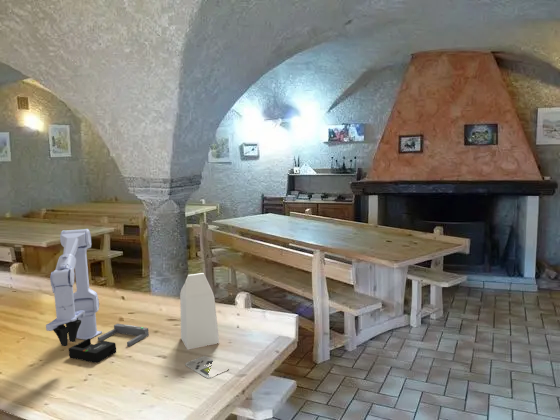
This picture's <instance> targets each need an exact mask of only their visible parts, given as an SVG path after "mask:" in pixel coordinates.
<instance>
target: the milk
mask: <svg viewBox="0 0 560 420" xmlns="http://www.w3.org/2000/svg"><path fill="white" fill-rule="evenodd" d="M179 297H180V307H179V308H180V339H181V341H182V343H183V344H184V346H185V348H186V350H187V351H188V350H193V349H198V348H203V347H207V345H208V346H212V345H216V344H217V343H218V344H220V337H219V328H218V320H217V309H216V302H215V301H216V300H215V299H216V298H215V294H214V292H213V289H212V287H211V285H210V283H209V281H208V279H207V276H206V275H205V273H204V272H199V273H194V274H193V273H192V274H187V277H186V279H185V282H184V283H183V286H182V287H181V289H180V292H179ZM218 344H217V345H218Z"/></svg>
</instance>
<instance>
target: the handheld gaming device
mask: <svg viewBox="0 0 560 420" xmlns="http://www.w3.org/2000/svg"><path fill="white" fill-rule="evenodd" d="M213 360H214V359H213V358H210V357H209V356H207V355H202V356H200V357H197V358H195V359H192V360H189V361H186V362H184V363H185V364H184V365H185V367H186V368H188V369H191V370H192V371H193V372H195V373H197V374H199V375H200V374H201V375H200V376H202V377H204V378H205V377H206V379H207V378H210V379H212V378H211V377H209V374H208V373H209V371H210V369H211V368H210V369H209V367H211V366H212V365H211V366H209V367H207V366H208V365H209V363H210V364H212V362H213ZM204 365H205V366H204ZM206 365H207V366H206ZM208 370H209V371H208ZM207 376H208V377H207Z"/></svg>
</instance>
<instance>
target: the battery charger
mask: <svg viewBox="0 0 560 420" xmlns="http://www.w3.org/2000/svg"><path fill="white" fill-rule="evenodd" d="M116 353H117V344H116V342H113V341H107V340H102V341H98V342H97V343H95V344H92V342H91V339H90V338H89V339H87V340H82V341H81V342H78V343H77V344H75V345H73V346H71V347H69V348H68V357H69V359H73V360H74V359H75V360H77V361H83V362H88V363H93V364H98V363H100V362H101V361H104V360H106V359H107V358H109V357H111V356H112V355H114V354H116Z"/></svg>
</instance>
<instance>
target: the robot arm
mask: <svg viewBox="0 0 560 420" xmlns="http://www.w3.org/2000/svg"><path fill="white" fill-rule="evenodd" d="M59 236H60V237H59V239H60V240H59V241H60V244H61V246H62V247H63V252H62V254H61V255H60V256H59V257H58V260H57V263H56V265H55V270H53V271H51V273H50V277H49V281H50V286H51V289H52V293H53V294H54V304H55V315H56V318H55V319H53V320H52V321H50V322H49V323H47V324H45V329H46V331H47V332H52V331H53V332H54V333H55V335H56V336H57V338H58V340H59V343H60V346H61V347H67V346H68V345H69V343H76V340H77V339H79V340H83V341H85V340H87V339H89V338H90V340H91V339H92V338H95V337H96V336H97V337H98V336H99V335H101V334H102V333H103V332H102V330H101V331H100V330H98V327H97V318H96V317H97V316H96V315H97V314H96V313H98V312H99V309H100V300H99V296H98V293H97V292H96V291H95V290H93V289H92V288H90V281H89V268H88V255H87V251H88V249H91V248H92V235H91V231H90V229H89V228H84V229H69V230H66V229H64V230H63V229H62V231H61V232H60V235H59ZM74 284H76V291H75V292H74V287H73V286H74Z"/></svg>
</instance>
